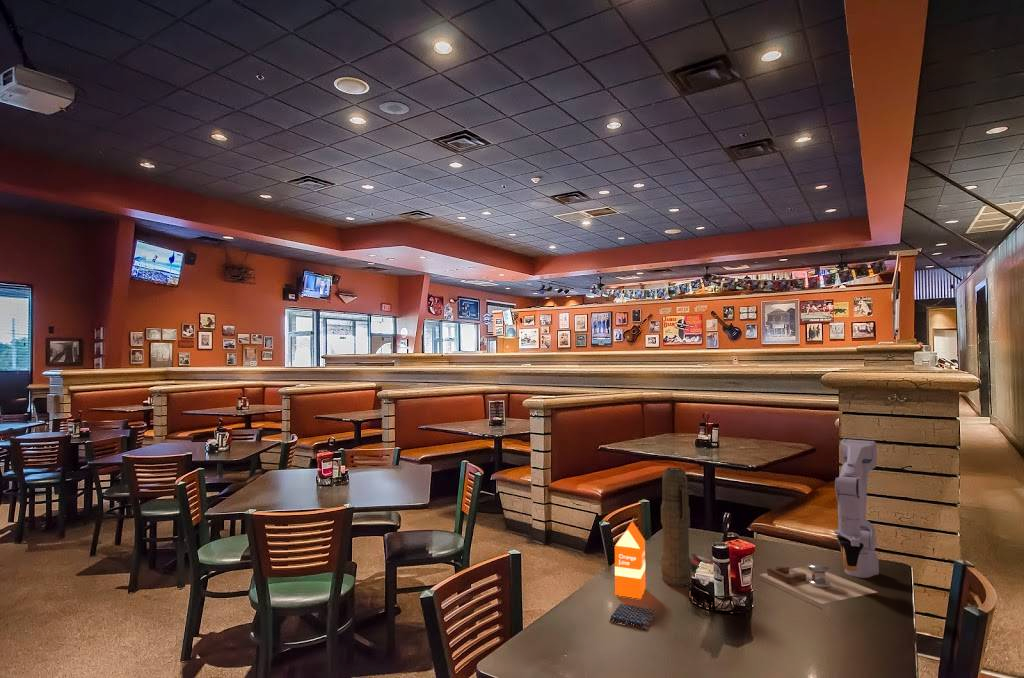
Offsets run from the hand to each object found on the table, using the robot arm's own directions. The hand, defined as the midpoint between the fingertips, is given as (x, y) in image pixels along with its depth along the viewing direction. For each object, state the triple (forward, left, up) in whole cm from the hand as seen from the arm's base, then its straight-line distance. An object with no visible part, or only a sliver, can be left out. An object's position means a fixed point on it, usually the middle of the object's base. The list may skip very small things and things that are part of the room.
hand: (850, 563), depth 168 cm
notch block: (+12, -13, -7) cm, 19 cm away
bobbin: (+7, -5, -7) cm, 11 cm away
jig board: (+7, -6, -9) cm, 13 cm away
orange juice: (+61, -24, -9) cm, 66 cm away
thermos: (+43, -26, -9) cm, 51 cm away
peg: (0, 0, -2) cm, 2 cm away
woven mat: (+70, -9, -9) cm, 71 cm away
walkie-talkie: (+28, -32, -9) cm, 44 cm away
